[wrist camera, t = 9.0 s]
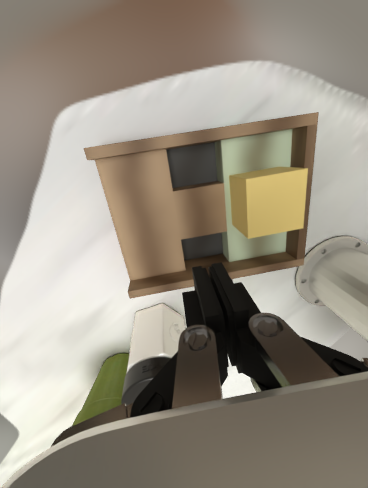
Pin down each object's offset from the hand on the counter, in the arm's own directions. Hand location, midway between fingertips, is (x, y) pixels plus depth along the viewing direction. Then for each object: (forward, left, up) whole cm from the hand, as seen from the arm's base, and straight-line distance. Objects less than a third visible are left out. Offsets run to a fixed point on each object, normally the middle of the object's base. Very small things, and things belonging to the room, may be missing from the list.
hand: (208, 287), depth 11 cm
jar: (+6, +18, -18) cm, 26 cm away
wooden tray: (-3, 0, -18) cm, 18 cm away
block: (-9, -1, -15) cm, 17 cm away
